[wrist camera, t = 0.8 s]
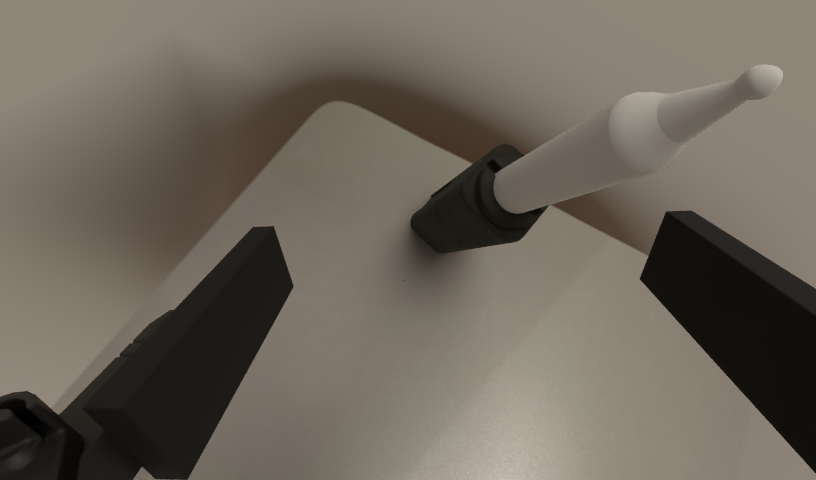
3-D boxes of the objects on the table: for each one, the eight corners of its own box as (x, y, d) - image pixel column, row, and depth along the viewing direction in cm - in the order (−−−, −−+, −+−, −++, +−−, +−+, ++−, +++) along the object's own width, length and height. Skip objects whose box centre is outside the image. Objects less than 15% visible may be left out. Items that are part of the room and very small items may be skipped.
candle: (439, 187, 32) (760, -61, 8) (473, 222, 33) (872, 87, 9) (405, 222, 31) (665, 54, 7) (442, 258, 32) (801, 217, 8)
